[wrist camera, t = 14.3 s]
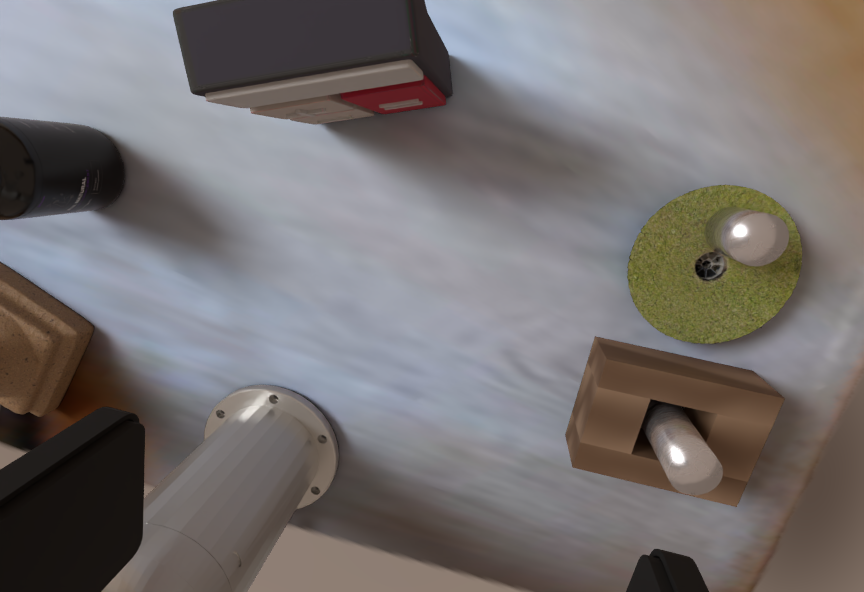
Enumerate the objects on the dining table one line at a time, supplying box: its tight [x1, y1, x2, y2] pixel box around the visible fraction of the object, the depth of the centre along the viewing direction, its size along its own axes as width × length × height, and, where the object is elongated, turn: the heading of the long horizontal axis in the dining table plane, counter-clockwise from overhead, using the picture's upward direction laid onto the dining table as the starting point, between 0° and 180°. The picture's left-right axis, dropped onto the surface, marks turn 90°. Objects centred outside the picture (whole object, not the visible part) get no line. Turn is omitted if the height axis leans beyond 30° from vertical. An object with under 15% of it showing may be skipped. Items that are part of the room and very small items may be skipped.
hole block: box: [565, 337, 785, 507], centre depth 37 cm, size 9×12×4 cm
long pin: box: [641, 399, 723, 495], centre depth 35 cm, size 3×3×9 cm
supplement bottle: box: [0, 117, 125, 220], centre depth 35 cm, size 7×7×12 cm
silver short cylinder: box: [705, 207, 789, 266], centre depth 31 cm, size 3×3×4 cm
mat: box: [627, 185, 802, 344], centre depth 35 cm, size 11×11×2 cm
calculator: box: [173, 0, 453, 124], centre depth 28 cm, size 11×4×15 cm, turn 97°
